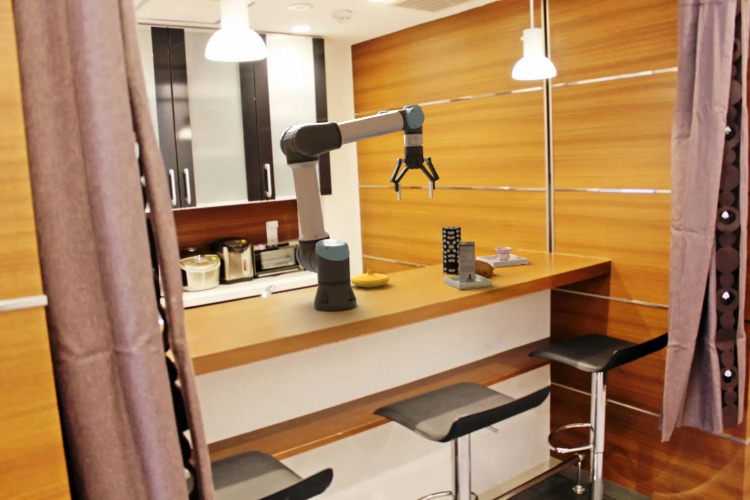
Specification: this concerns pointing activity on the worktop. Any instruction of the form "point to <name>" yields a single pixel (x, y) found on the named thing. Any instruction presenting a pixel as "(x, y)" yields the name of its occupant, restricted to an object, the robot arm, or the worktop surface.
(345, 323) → the worktop surface
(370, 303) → the worktop surface
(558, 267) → the worktop surface
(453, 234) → the spotted tube
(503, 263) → the saucer
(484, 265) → the croissant
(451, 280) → the tray
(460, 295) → the worktop surface
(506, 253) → the teacup
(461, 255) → the coffee box
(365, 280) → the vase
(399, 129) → the robot arm
